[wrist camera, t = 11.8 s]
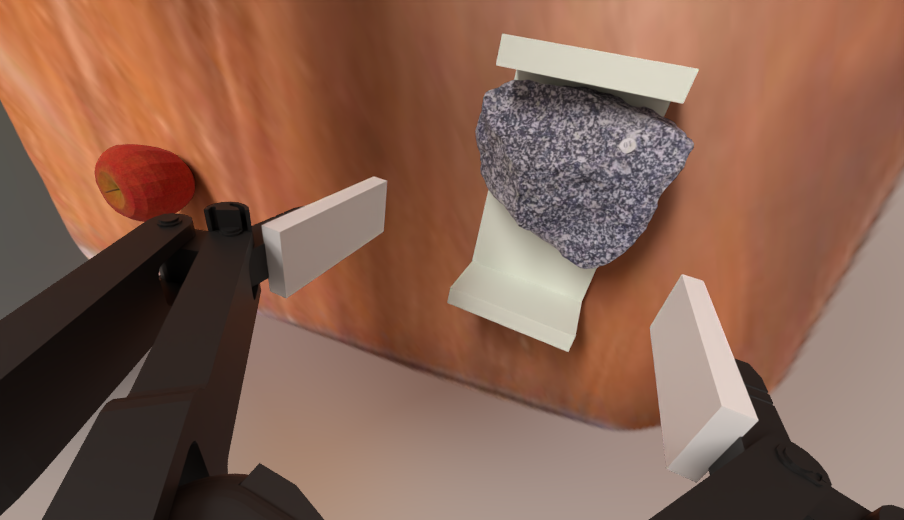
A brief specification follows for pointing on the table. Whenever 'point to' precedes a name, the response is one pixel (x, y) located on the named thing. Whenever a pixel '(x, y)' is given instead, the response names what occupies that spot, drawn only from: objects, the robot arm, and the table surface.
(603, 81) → the u rest
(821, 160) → the table surface
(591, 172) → the rock
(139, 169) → the apple
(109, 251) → the robot arm
